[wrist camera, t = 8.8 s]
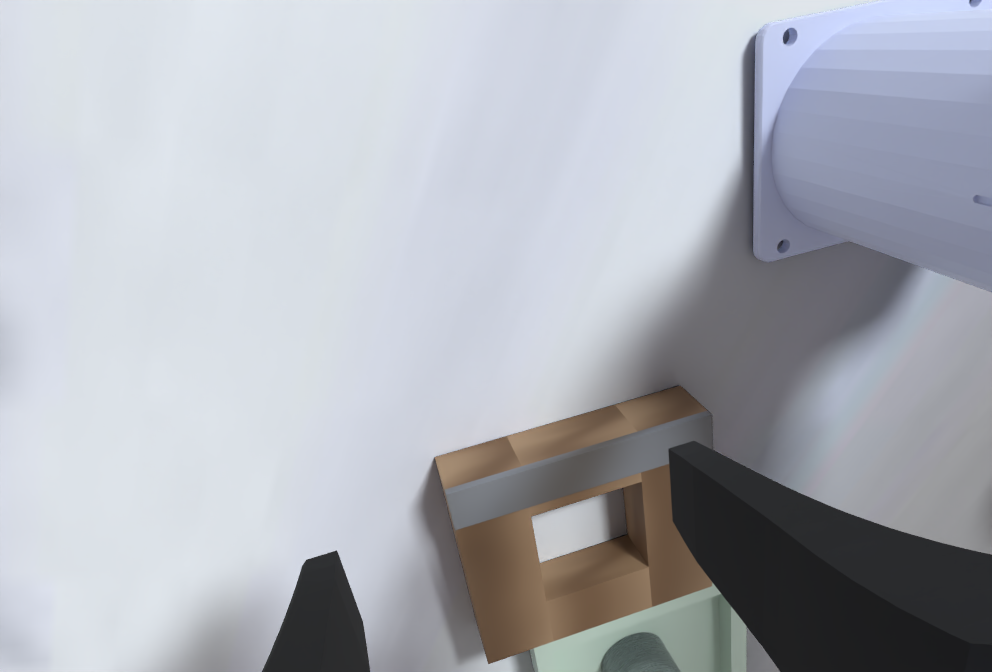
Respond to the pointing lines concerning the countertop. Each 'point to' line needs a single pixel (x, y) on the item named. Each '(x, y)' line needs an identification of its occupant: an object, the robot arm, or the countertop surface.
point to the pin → (639, 655)
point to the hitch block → (562, 481)
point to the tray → (678, 623)
